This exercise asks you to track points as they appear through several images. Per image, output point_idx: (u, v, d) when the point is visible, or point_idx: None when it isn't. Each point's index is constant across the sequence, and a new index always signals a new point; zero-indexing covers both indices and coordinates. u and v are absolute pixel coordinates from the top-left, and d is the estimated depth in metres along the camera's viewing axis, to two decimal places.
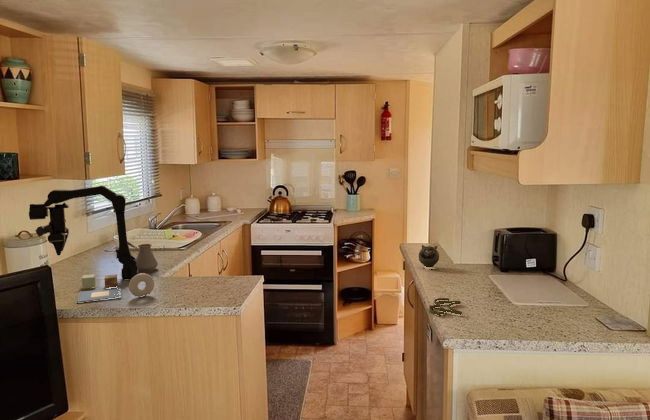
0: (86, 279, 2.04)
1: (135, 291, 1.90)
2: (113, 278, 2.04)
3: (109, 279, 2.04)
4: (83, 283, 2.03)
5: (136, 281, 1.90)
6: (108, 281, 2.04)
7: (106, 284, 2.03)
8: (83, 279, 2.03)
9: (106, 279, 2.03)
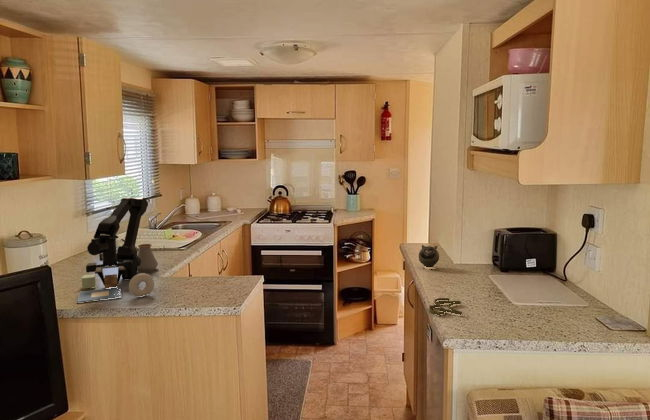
0: (86, 279, 2.04)
1: (135, 291, 1.90)
2: (113, 278, 2.04)
3: (109, 279, 2.04)
4: (83, 283, 2.03)
5: (136, 281, 1.90)
6: (108, 281, 2.04)
7: (106, 284, 2.03)
8: (83, 279, 2.03)
9: (106, 279, 2.03)
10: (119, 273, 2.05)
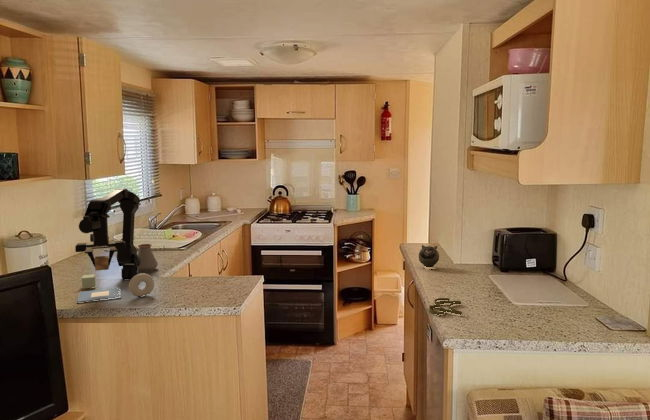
0: (86, 279, 2.04)
1: (135, 291, 1.90)
2: (104, 259, 1.95)
3: (100, 259, 1.94)
4: (83, 283, 2.03)
5: (136, 281, 1.90)
6: (99, 262, 1.94)
7: (96, 265, 1.94)
8: (83, 279, 2.03)
9: (96, 259, 1.93)
10: (110, 254, 1.95)
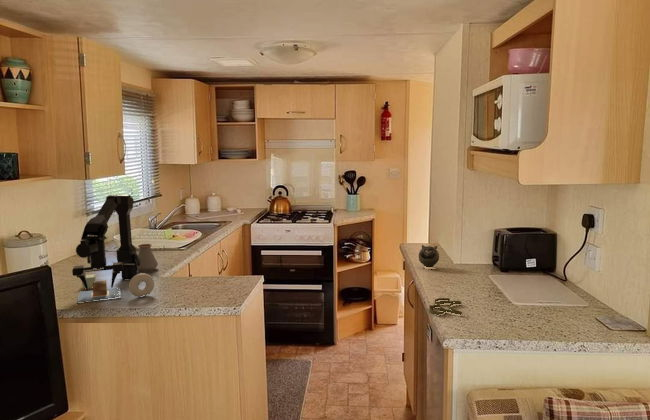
0: None
1: (135, 291, 1.90)
2: (102, 284, 1.92)
3: (97, 285, 1.91)
4: None
5: (136, 281, 1.90)
6: (96, 287, 1.91)
7: (94, 291, 1.91)
8: None
9: (94, 285, 1.91)
10: (113, 276, 1.93)
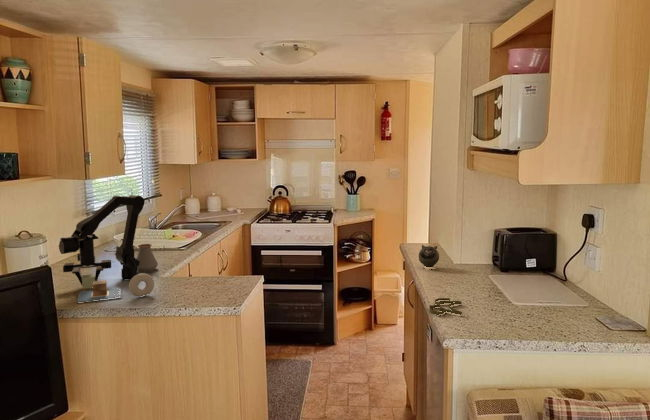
0: (86, 279, 2.04)
1: (135, 291, 1.90)
2: (102, 284, 1.92)
3: (97, 285, 1.91)
4: (83, 283, 2.03)
5: (136, 281, 1.90)
6: (96, 287, 1.91)
7: (94, 291, 1.91)
8: (83, 279, 2.03)
9: (94, 285, 1.91)
10: (97, 273, 2.05)
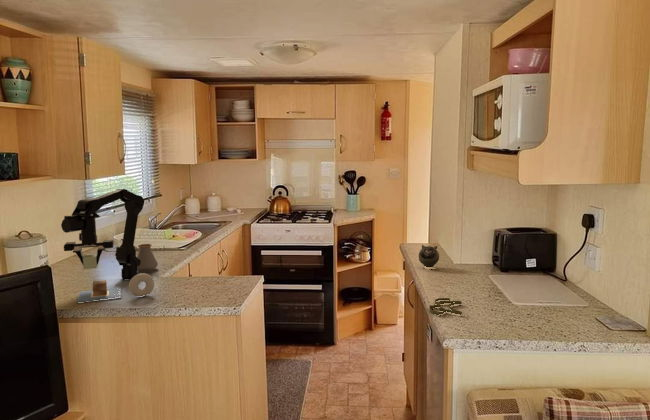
0: (87, 258, 1.98)
1: (135, 291, 1.90)
2: (102, 284, 1.92)
3: (97, 285, 1.91)
4: (84, 263, 1.98)
5: (136, 281, 1.90)
6: (96, 287, 1.91)
7: (94, 291, 1.91)
8: (84, 258, 1.97)
9: (94, 285, 1.91)
10: (98, 253, 1.99)
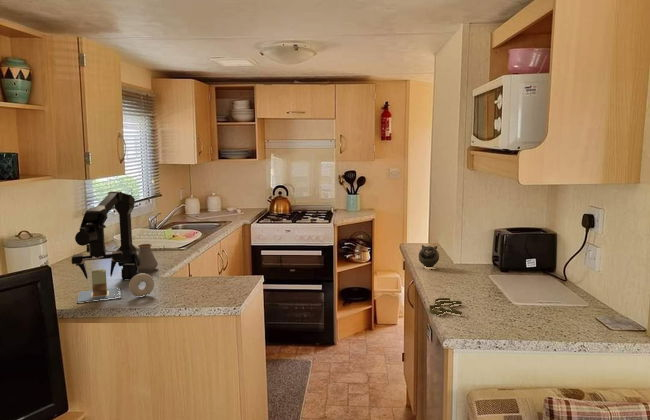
0: (96, 273, 1.90)
1: (135, 291, 1.90)
2: (102, 284, 1.92)
3: (97, 285, 1.91)
4: (93, 278, 1.90)
5: (136, 281, 1.90)
6: (96, 287, 1.91)
7: (94, 291, 1.91)
8: (93, 273, 1.90)
9: (94, 285, 1.91)
10: (112, 265, 1.92)
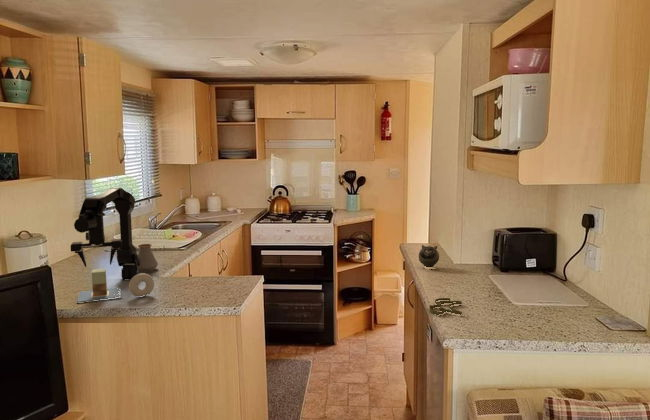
0: (96, 273, 1.90)
1: (135, 291, 1.90)
2: (102, 284, 1.92)
3: (97, 285, 1.91)
4: (93, 278, 1.90)
5: (136, 281, 1.90)
6: (96, 287, 1.91)
7: (94, 291, 1.91)
8: (93, 273, 1.90)
9: (94, 285, 1.91)
10: (112, 252, 1.92)
